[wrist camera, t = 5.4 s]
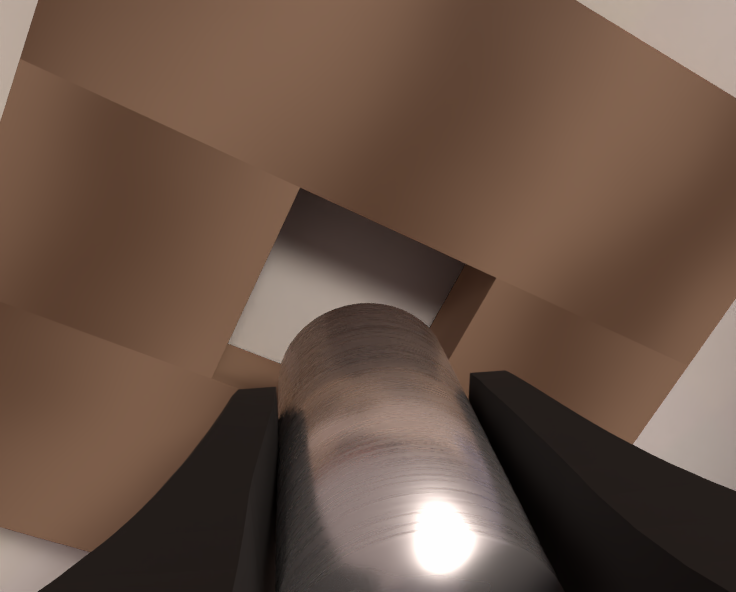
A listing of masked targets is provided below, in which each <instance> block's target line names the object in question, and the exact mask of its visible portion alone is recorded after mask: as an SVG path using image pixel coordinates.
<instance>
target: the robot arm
mask: <svg viewBox="0 0 736 592" xmlns="http://www.w3.org/2000/svg"><path fill="white" fill-rule="evenodd" d="M469 402H470V404H471V406H472V408H473V410H474V412H475V414H476V416H477V418H478V420H479V422H480V424H481V426H482V428H483V430H484V432H485V434H486V436H487V438H488V440H489V442H490V444H491V446H492V448H493V450H494V452H495V454H496V456H497V458H498V460H499V462H500V464H501V466H502V468H503V470H504V472H505V474H506V476H507V478H508V480H509V482H510V484H511V486H512V488H513V490H514V492H515V494H516V496H517V498H518V500H519V502H520V504H521V506H522V508H523V510H524V512H525V514H526V516H527V518H528V520H529V522H530V524H531V526H532V528H533V530H534V532H535V534H536V536H537V538H538V540H539V542H540V544H541V546H542V548H543V550H544V551H545V553H546V555H547V557H548V559H549V561H550V563H551V565H552V567H553V569H554V571H555V573H556V575H557V577H558V579H559V581H560V583H561V585H562V587H563V589H564V591H565V592H736V491H734V490H732V489H729V488H727V487H724V486H721V485H719V484H716V483H714V482H711V481H709V480H707V479H705V478H702V477H700V476H698V475H695V474H693V473H691V472H689V471H686V470H684V469H682V468H679V467H677V466H675V465H673V464H670V463H668V462H666V461H664V460H662V459H660V458H658V457H656V456H654V455H652V454H650V453H648V452H646V451H644V450H642V449H640V448H638V447H636V446H634V445H632V444H630V443H629V442H627V441H625V440H623V439H621V438H619V437H617V436H615V435H614V434H612V433H610V432H608V431H606V430H605V429H603V428H601V427H599V426H598V425H596V424H594V423H593V422H591V421H589V420H587V419H586V418H584V417H582V416H581V415H579V414H577V413H576V412H574V411H572V410H571V409H569V408H568V407H566V406H564V405H563V404H561V403H559V402H558V401H556V400H555V399H553V398H551V397H550V396H548V395H547V394H545V393H543V392H542V391H540V390H539V389H537V388H535V387H534V386H532V385H531V384H529V383H527V382H526V381H524V380H522V379H521V378H519V377H517V376H515V375H514V374H512V373H510V372H508V371H506V370H502V371H488V372H474V373H470V379H469ZM278 424H279V419H278V406H277V393H276V387H264V388H250V389H238V390H237V391H236V392H235V393H234V394H233V395H232V397H231V398H230V400H229V401H228V403H227V405H226V406H225V408H224V409H223V411H222V412H221V414H220V415H219V416H218V418H217V419H216V421H215V422H214V424H213V425H212V426H211V428H210V429H209V431H208V432H207V433H206V435H205V436H204V437H203V438H202V440H201V441H200V442H199V444H198V445H197V446H196V447H195V449H194V450H193V451H192V453H191V454H190V455H189V456H188V458H187V459H186V460H185V461H184V463H183V464H182V465H181V466H180V467H179V468H178V469H177V471H176V472H175V473H174V474H173V475H172V476H171V477H170V478H169V480H168V481H167V482H166V483H165V484H164V485H163V486H162V487H161V489H160V490H159V491H158V492H157V493H156V494H155V495H154V496H153V497H152V498H151V499H150V500H149V501H148V502H147V503H146V504H145V505H144V506H143V507H142V508H141V509H140V510H139V511H138V512H137V513H136V514H135V515H134V516H133V517H132V518H131V519H130V520H129V521H128V522H126V523H125V524H124V525H123V526H122V527H121V528H120V529H119V530H118V531H117V532H115V533H114V534H113V535H112V536H111V537H109V538H108V539H107V540H106V541H105V542H103V543H102V544H101V545H99V546H98V547H97V548H95V549H94V550H93V551H92V552H90V553H89V554H88V555H86V556H85V557H84V558H83V559H81V560H80V561H79V562H77V563H76V564H75V565H73V566H72V567H71V568H70V569H68V570H67V571H66V572H64V573H63V574H62V575H60V576H59V577H58V578H57V579H55V580H54V581H52V582H51V583H50V584H48V585H47V586H45V587H44V588H42V589H41V590H39V591H38V592H275V558H276V499H277V467H278Z"/></svg>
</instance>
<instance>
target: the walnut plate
mask: <svg viewBox="0 0 736 592" xmlns="http://www.w3.org/2000/svg"><path fill="white" fill-rule="evenodd" d="M300 188H302V189H304V190H307V191H309V192H311V193H313V194H315V195H317V196H320V197H322V198H324V199H326V200H328V201H330V202H333V203H335V204H337V205H339V206H341V207H344V208H346V209H348V210H350V211H352V212H354V213H357V214H359V215H361V216H363V217H365V218H367V219H370V220H372V221H374V222H376V223H378V224H381V225H383V226H385V227H387V228H389V229H391V230H394V231H396V232H398V233H400V234H402V235H404V236H407V237H409V238H411V239H413V240H415V241H417V242H420V243H422V244H424V245H426V246H428V247H431V248H433V249H435V250H437V251H439V252H441V253H444V254H446V255H448V256H450V257H452V258H454V259H457V260H459V261H461V262H463V263H465V264H466V265H465V266H464V268H463V270H462V272H461V273H460V275H459V277H458V279H457V281H456V282H455V284H454V286H453V288H452V289H451V291H450V293H449V295H448V297H447V298H446V300H445V302H444V304H443V305H442V307H441V309H440V311H439V313H438V314H437V316H436V318H435V320H434V321H433V323H432V325H431V327H430V330H431V331H432V332H433V333H434V334H435V336H436V337H437V339H438V341H439V342H440V344H441V346H442V348H443V350H444V352H445V354H446V356H447V358H448V360H449V362H450V364H451V366H452V368H453V370H454V372H455V374H456V376H457V378H458V380H459V382H460V384H461V386H462V388H463V390H464V392H465V394H466V396H467V398H468V400H469V379H470V373H474V372H488V371H502V370H506V371H508V372H510V373H512V374H514V375H515V376H517V377H519V378H521V379H522V380H524V381H526V382H527V383H529V384H531V385H532V386H534V387H535V388H537V389H539V390H540V391H542V392H543V393H545V394H547V395H548V396H550V397H551V398H553V399H555V400H556V401H558V402H559V403H561V404H563V405H564V406H566V407H568V408H569V409H571V410H572V411H574V412H576V413H577V414H579V415H581V416H582V417H584V418H586V419H587V420H589V421H591V422H593V423H594V424H596V425H598V426H599V427H601V428H603V429H605V430H606V431H608V432H610V433H612V434H614V435H615V436H617V437H619V438H621V439H623V440H625V441H627V442H629V443H630V444H633V443H634V442H635V440H636V439H637V437H638V436H639V435H640V433H641V432H642V430H643V429H644V427H645V426H646V425H647V423H648V422H649V420H650V419H651V418H652V416H653V415H654V413H655V412H656V411H657V409H658V408H659V406H660V405H661V403H662V402H663V401H664V399H665V398H666V396H667V395H668V394H669V392H670V391H671V389H672V388H673V386H674V385H675V384H676V382H677V381H678V379H679V378H680V377H681V375H682V374H683V372H684V371H685V369H686V368H687V367H688V365H689V364H690V362H691V361H692V360H693V358H694V357H695V355H696V354H697V352H698V351H699V350H700V348H701V347H702V345H703V344H704V343H705V341H706V340H707V338H708V337H709V335H710V334H711V333H712V331H713V330H714V328H715V327H716V326H717V324H718V323H719V321H720V320H721V318H722V317H723V316H724V314H725V313H726V311H727V310H728V309H729V307H730V306H731V304H732V303H733V301H734V300H735V299H736V98H735V97H733V96H731V95H730V94H728V93H727V92H725V91H723V90H722V89H720V88H718V87H717V86H715V85H713V84H712V83H710V82H709V81H707V80H705V79H704V78H702V77H700V76H699V75H697V74H695V73H694V72H692V71H691V70H689V69H687V68H686V67H684V66H682V65H681V64H679V63H677V62H676V61H674V60H673V59H671V58H669V57H668V56H666V55H664V54H663V53H661V52H659V51H658V50H656V49H655V48H653V47H651V46H650V45H648V44H646V43H645V42H643V41H641V40H640V39H638V38H637V37H635V36H633V35H632V34H630V33H628V32H627V31H625V30H623V29H622V28H620V27H619V26H617V25H615V24H614V23H612V22H610V21H609V20H607V19H605V18H604V17H602V16H601V15H599V14H597V13H596V12H594V11H592V10H591V9H589V8H587V7H586V6H584V5H583V4H581V3H579V2H578V1H576V0H38V3H37V6H36V9H35V13H34V16H33V19H32V22H31V25H30V29H29V32H28V35H27V38H26V41H25V45H24V48H23V51H22V54H21V57H20V60H19V64H18V67H17V70H16V73H15V76H14V80H13V83H12V86H11V89H10V92H9V96H8V99H7V102H6V105H5V108H4V112H3V115H2V118H1V121H0V527H2V528H6V529H9V530H13V531H16V532H20V533H24V534H27V535H31V536H34V537H38V538H41V539H45V540H49V541H52V542H56V543H59V544H63V545H67V546H70V547H74V548H77V549H81V550H84V551H88V552H92V551H93V550H94V549H95V548H97V547H98V546H99V545H101V544H102V543H103V542H105V541H106V540H107V539H108V538H109V537H111V536H112V535H113V534H114V533H115V532H117V531H118V530H119V529H120V528H121V527H122V526H123V525H124V524H125V523H126V522H128V521H129V520H130V519H131V518H132V517H133V516H134V515H135V514H136V513H137V512H138V511H139V510H140V509H141V508H142V507H143V506H144V505H145V504H146V503H147V502H148V501H149V500H150V499H151V498H152V497H153V496H154V495H155V494H156V493H157V492H158V491H159V490H160V489H161V487H162V486H163V485H164V484H165V483H166V482H167V481H168V480H169V478H170V477H171V476H172V475H173V474H174V473H175V472H176V471H177V469H178V468H179V467H180V466H181V465H182V464H183V463H184V461H185V460H186V459H187V458H188V456H189V455H190V454H191V453H192V451H193V450H194V449H195V447H196V446H197V445H198V444H199V442H200V441H201V440H202V438H203V437H204V436H205V435H206V433H207V432H208V431H209V429H210V428H211V426H212V425H213V424H214V422H215V421H216V419H217V418H218V416H219V415H220V414H221V412H222V411H223V409H224V408H225V406H226V405H227V403H228V401H229V400H230V398H231V397H232V395H233V394H234V393H235V392H236V391H237V390H238V389H250V388H264V387H276V393H277V406H278V382H279V372H280V367H281V364H279V363H277V362H274V361H272V360H269V359H266V358H264V357H261V356H258V355H256V354H253V353H251V352H248V351H245V350H243V349H240V348H238V347H235V346H232V345H230V344H228V342H229V339H230V337H231V335H232V333H233V331H234V329H235V327H236V324H237V322H238V320H239V318H240V316H241V314H242V311H243V309H244V307H245V305H246V303H247V301H248V299H249V296H250V294H251V292H252V290H253V288H254V286H255V283H256V281H257V279H258V277H259V275H260V273H261V271H262V268H263V266H264V264H265V262H266V260H267V258H268V255H269V253H270V251H271V249H272V247H273V245H274V243H275V240H276V238H277V236H278V234H279V232H280V230H281V227H282V225H283V223H284V221H285V219H286V217H287V214H288V212H289V210H290V208H291V206H292V204H293V202H294V199H295V197H296V195H297V193H298V191H299V189H300Z"/></svg>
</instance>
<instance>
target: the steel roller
mask: <svg viewBox="0 0 736 592" xmlns="http://www.w3.org/2000/svg"><path fill="white" fill-rule="evenodd" d="M278 419H279V424H278V467H277V499H276V558H275V592H565V591H564V589H563V587H562V585H561V583H560V581H559V579H558V577H557V575H556V573H555V571H554V569H553V567H552V565H551V563H550V561H549V559H548V557H547V555H546V553H545V551H544V550H543V548H542V546H541V544H540V542H539V540H538V538H537V536H536V534H535V532H534V530H533V528H532V526H531V524H530V522H529V520H528V518H527V516H526V514H525V512H524V510H523V508H522V506H521V504H520V502H519V500H518V498H517V496H516V494H515V492H514V490H513V488H512V486H511V484H510V482H509V480H508V478H507V476H506V474H505V472H504V470H503V468H502V466H501V464H500V462H499V460H498V458H497V456H496V454H495V452H494V450H493V448H492V446H491V444H490V442H489V440H488V438H487V436H486V434H485V432H484V430H483V428H482V426H481V424H480V422H479V420H478V418H477V416H476V414H475V412H474V410H473V408H472V406H471V404H470V402H469V400H468V398H467V396H466V394H465V392H464V390H463V388H462V386H461V384H460V382H459V380H458V378H457V376H456V374H455V372H454V370H453V368H452V366H451V364H450V362H449V360H448V358H447V356H446V354H445V352H444V350H443V348H442V346H441V344H440V342H439V341H438V339H437V337H436V336H435V334H434V333H433V332H432V331H431V330H430V328H429V327H428V326H427V325H425V324H424V323H423V322H422V321H421V320H420V319H418V318H417V317H415V316H414V315H412V314H410V313H408V312H406V311H404V310H402V309H399V308H396V307H393V306H389V305H384V304H376V303H360V304H352V305H347V306H343V307H340V308H336V309H334V310H331V311H329V312H327V313H325V314H323V315H321V316H319V317H318V318H316V319H314V320H313V321H312V322H310V323H309V324H308V325H307V326H305V327H304V328H303V329H302V330H301V331H300V332H299V333H298V334H297V336H296V337H295V338H294V340H293V341H292V342H291V344H290V345H289V347H288V349H287V351H286V353H285V355H284V358H283V360H282V363H281V367H280V372H279V382H278Z"/></svg>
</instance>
